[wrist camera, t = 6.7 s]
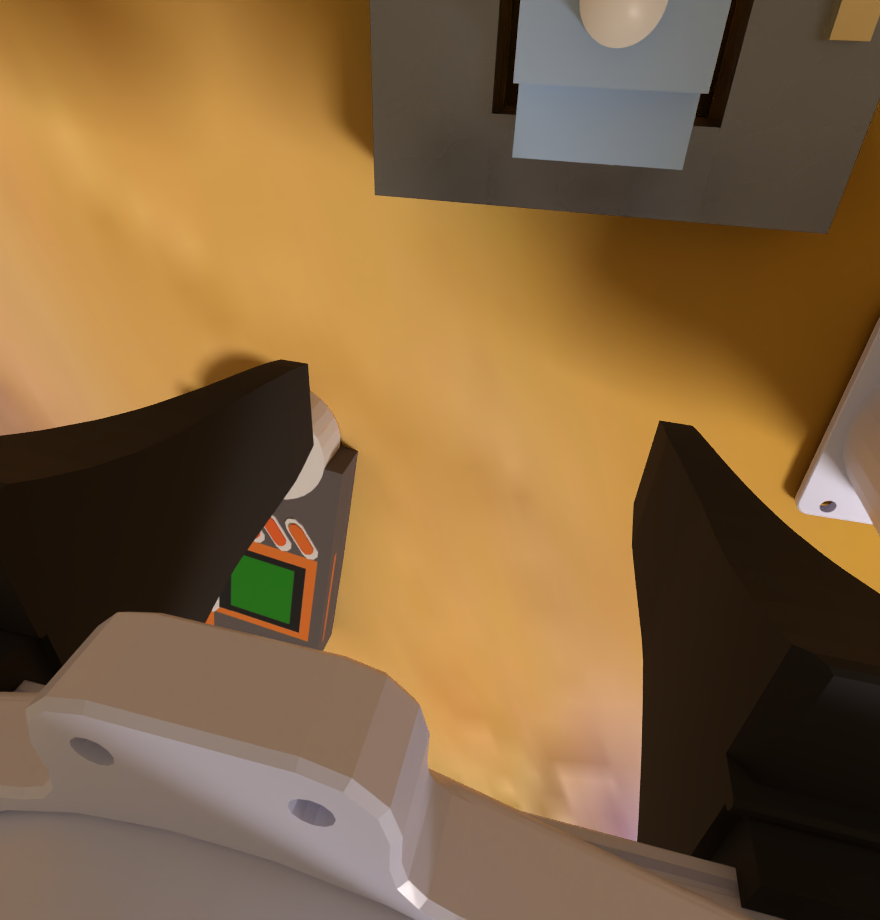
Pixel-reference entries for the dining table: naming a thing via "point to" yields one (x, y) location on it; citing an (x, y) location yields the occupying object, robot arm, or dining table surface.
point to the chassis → (628, 187)
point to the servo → (613, 78)
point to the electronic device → (297, 550)
